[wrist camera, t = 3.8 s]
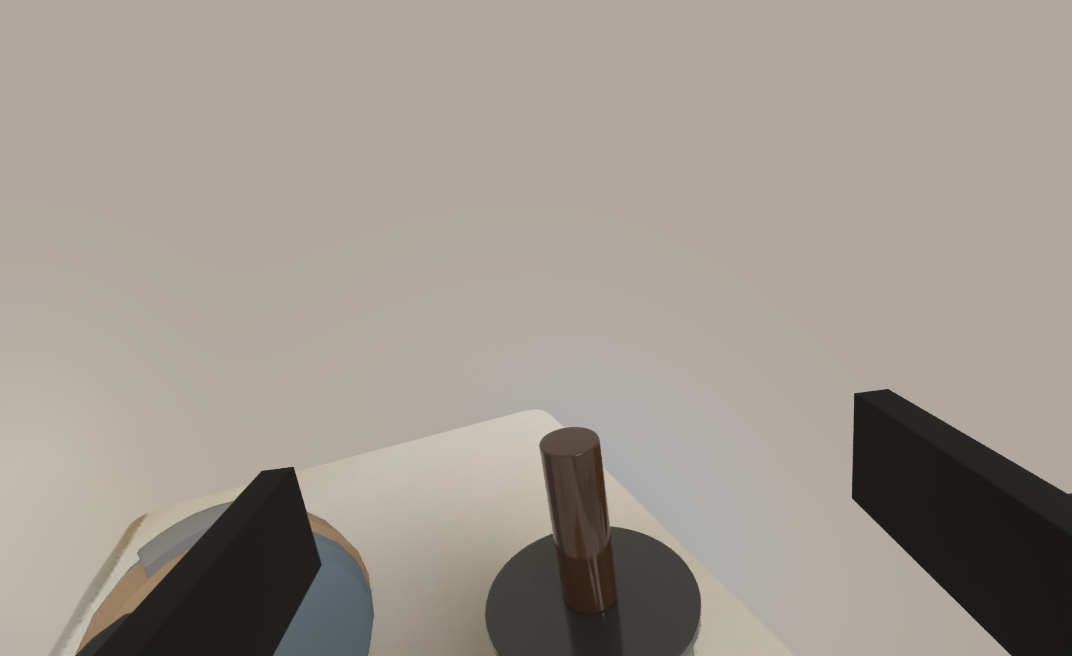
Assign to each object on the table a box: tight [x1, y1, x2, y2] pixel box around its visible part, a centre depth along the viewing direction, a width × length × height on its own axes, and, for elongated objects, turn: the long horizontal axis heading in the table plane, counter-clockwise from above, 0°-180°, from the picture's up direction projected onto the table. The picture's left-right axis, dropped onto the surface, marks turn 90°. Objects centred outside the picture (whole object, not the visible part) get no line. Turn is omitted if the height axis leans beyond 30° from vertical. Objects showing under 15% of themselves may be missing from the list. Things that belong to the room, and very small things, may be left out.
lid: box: [485, 427, 702, 656], centre depth 24 cm, size 10×10×9 cm
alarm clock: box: [76, 501, 374, 656], centre depth 30 cm, size 14×10×18 cm
